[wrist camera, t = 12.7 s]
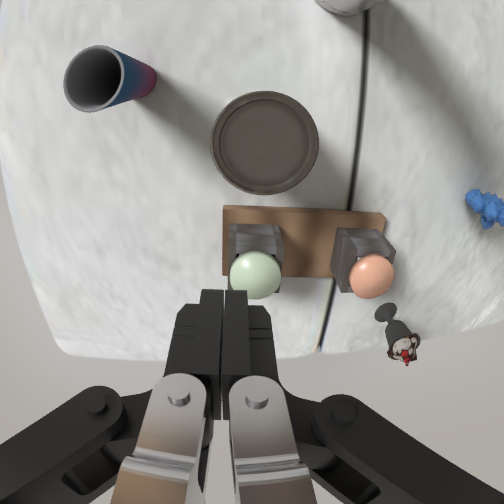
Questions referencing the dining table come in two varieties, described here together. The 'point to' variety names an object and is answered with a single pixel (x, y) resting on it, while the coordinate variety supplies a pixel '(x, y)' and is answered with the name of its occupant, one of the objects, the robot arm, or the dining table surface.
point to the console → (304, 239)
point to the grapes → (486, 207)
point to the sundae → (398, 335)
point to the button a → (255, 274)
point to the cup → (105, 79)
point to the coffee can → (264, 142)
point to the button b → (371, 276)
